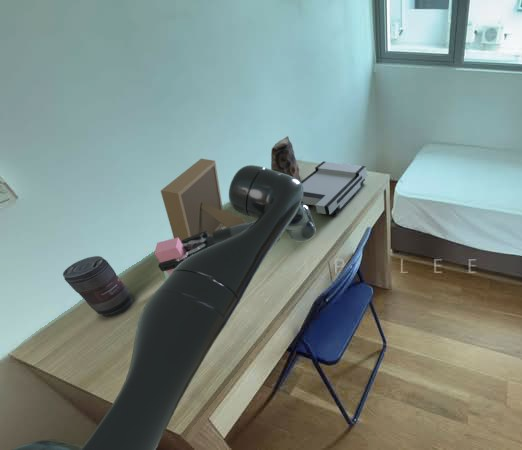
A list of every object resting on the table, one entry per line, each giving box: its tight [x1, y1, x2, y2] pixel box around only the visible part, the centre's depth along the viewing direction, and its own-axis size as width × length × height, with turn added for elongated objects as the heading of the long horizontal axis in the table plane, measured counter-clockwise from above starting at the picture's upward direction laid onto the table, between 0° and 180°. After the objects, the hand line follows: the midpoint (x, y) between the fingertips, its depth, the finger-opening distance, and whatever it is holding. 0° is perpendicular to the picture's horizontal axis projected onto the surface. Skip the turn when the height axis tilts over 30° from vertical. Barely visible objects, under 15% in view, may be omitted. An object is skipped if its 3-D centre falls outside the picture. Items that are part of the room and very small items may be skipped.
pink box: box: [154, 237, 187, 275], centre depth 76 cm, size 4×4×10 cm
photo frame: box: [160, 158, 246, 243], centre depth 99 cm, size 15×22×25 cm
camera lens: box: [62, 255, 134, 318], centre depth 78 cm, size 8×8×15 cm
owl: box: [270, 135, 302, 182], centre depth 132 cm, size 13×13×20 cm
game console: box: [300, 161, 368, 217], centre depth 124 cm, size 21×32×8 cm, turn 161°
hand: (161, 261), depth 75 cm, fingers closed on pink box, 4 cm apart
